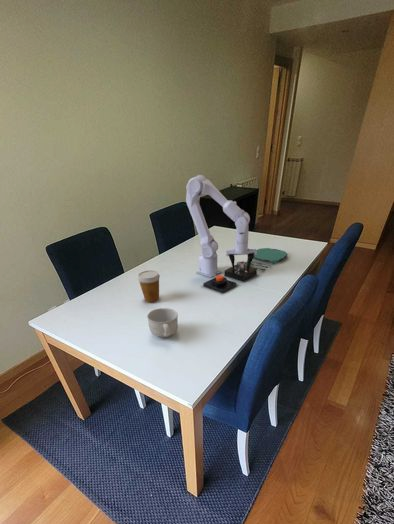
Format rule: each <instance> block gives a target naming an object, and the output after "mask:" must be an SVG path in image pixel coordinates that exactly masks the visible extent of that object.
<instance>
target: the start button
mask: <svg viewBox="0 0 394 524" xmlns="http://www.w3.org/2000/svg"><path fill="white" fill-rule="evenodd" d="M215 277H216V281H223V280H224V277H225V276H224V274H223V275H222V274H217V275H215Z"/></svg>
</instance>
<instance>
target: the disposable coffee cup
mask: <svg viewBox="0 0 394 524" xmlns="http://www.w3.org/2000/svg"><path fill="white" fill-rule="evenodd" d="M160 276H161V275H160V274H159V272H158V271H156V270H153V269H148V270H147V269H146V270H143V271H141V272H139V273H138V274H137V278H136V279H137V281H138V283H139V285H140V288H141V292H142V295H143V298H144V301H145V303H149V304H152V303H153V304H154V303H157V302H159V300H160Z"/></svg>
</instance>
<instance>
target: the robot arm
mask: <svg viewBox="0 0 394 524" xmlns="http://www.w3.org/2000/svg"><path fill="white" fill-rule="evenodd" d="M185 188H186V189H185V190H186V196H185V202H186V206H187V208H188V210H189V213H190V216H191V218H192V221H193V223H194V226H195V229H196V231H197V234H198V236H199V239H200V242H199V243H200V248H201V249H200V250H201V251H200V253H201V255H199V257H198V271H197V274H201V275H203V276H206V277H209V278H212V277H213V278H214V277H216V276H217V275H220V274H221V273H222V271H221V270H218V253H217V251H218V249H219V243H218V242H217V241H216V240H215V238H214V236H213V235H212V234H211V231H210V229H209V227H208V223H207V222H206V219H205V215H204V213H203V210H202V206H201V205H200V202H199V200H200V198H201V196H202V195H206V196H207V195H208V196H210V197H211V198H212V199H213V200H214V201H215V202H216V203H218V204H219V205H220V206H221V207H222V211H223V213H224V214H225V215H226V216H227V217H228V218H230V220H231V221H233V222H234V225H235V227H236V228H235V229H236V231H235V249H230V250H226V251H225V256H226V257H228V258H229V260H230V263H231V267H232V269H233V270H234V266H235V259H236V258H235V256H244V255H246V256H247V261H248V262H247V261H246V262H247V269H249V267H250V264H251V263H252V261H253V260H254V254H255V255H256V254H257V250H258V249H256V248H248V247H249V232H250V231H249V225H250V222H251V217H250V214H249V212H247V211H245V210H244V209H242V208H240V206H238V205H237V204H238V203H237V201H236V200H234V201H233V200H232V199H231V200H228V199H227V198H226V196H224V195H223V193H221V191H220V190H219V189H218V188H217V187H216V186H215V185H214V183H212V181H211V180H209V178H207V177H206V176H205V175H203V174H197V175H196V176H194V177H191V178H190V179H189V180H188V182H187V184H186V186H185Z"/></svg>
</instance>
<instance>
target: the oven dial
mask: <svg viewBox="0 0 394 524" xmlns="http://www.w3.org/2000/svg"><path fill="white" fill-rule="evenodd" d="M245 262H246V261H244V260H242V261H237V262H236V265H237V271H244V270H245V265H246V264H245Z"/></svg>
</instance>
